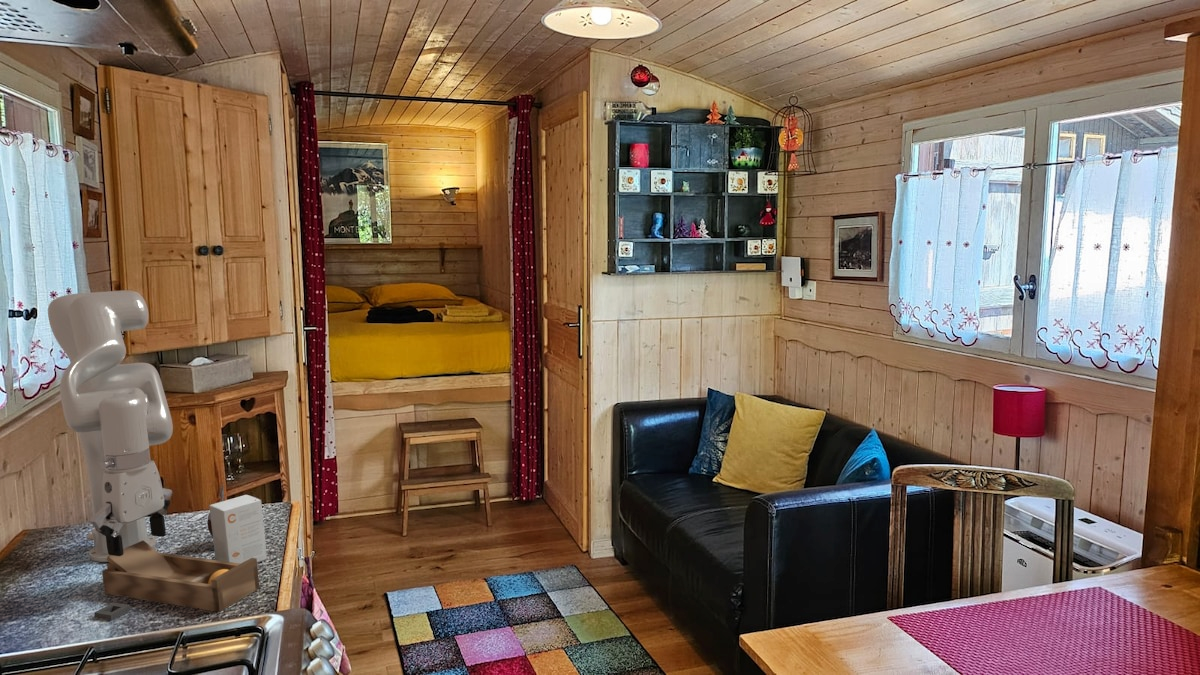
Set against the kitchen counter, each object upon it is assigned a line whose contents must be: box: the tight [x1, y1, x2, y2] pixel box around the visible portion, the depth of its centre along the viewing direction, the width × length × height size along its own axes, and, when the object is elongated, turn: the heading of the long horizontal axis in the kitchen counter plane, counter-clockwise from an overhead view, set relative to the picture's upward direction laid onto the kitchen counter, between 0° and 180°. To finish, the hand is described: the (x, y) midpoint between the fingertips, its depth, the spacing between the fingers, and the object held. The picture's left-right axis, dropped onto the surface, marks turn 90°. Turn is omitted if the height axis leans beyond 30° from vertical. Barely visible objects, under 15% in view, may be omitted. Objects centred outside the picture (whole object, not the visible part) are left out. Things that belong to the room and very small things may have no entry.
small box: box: [209, 494, 268, 564], centre depth 169 cm, size 8×6×13 cm
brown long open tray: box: [101, 540, 260, 613], centre depth 157 cm, size 28×10×7 cm, turn 71°
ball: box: [208, 569, 228, 585], centre depth 153 cm, size 5×5×5 cm
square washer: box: [93, 602, 132, 621], centre depth 148 cm, size 4×4×1 cm
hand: (137, 545), depth 159 cm, fingers open, 9 cm apart
